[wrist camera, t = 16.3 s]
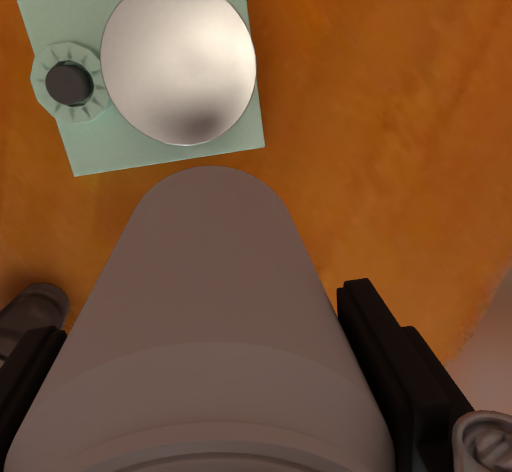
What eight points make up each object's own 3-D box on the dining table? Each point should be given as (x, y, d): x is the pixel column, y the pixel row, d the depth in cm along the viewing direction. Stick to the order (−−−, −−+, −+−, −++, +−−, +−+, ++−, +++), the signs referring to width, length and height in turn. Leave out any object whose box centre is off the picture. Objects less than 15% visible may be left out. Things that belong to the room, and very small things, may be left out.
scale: (76, 172, 36) (64, 182, 33) (15, -16, 30) (-5, -23, 27) (263, 143, 36) (267, 151, 33) (238, -48, 30) (241, -58, 27)
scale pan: (125, 153, 32) (123, 156, 32) (82, -8, 28) (78, -10, 27) (265, 132, 33) (266, 134, 32) (244, -32, 28) (245, -34, 27)
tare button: (60, 105, 31) (52, 107, 29) (48, 67, 30) (39, 68, 28) (95, 99, 31) (88, 102, 29) (84, 62, 30) (77, 62, 28)
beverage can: (97, 208, 16) (-181, 565, 5) (249, 129, 15) (334, 333, 4) (183, 329, 18) (132, 745, 7) (317, 266, 17) (483, 622, 7)
